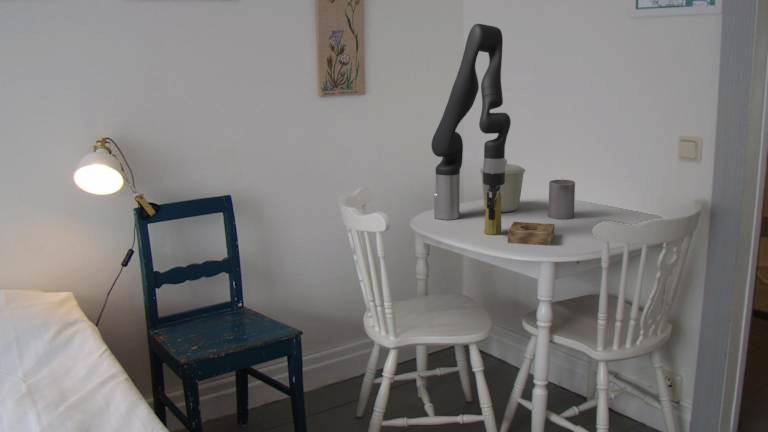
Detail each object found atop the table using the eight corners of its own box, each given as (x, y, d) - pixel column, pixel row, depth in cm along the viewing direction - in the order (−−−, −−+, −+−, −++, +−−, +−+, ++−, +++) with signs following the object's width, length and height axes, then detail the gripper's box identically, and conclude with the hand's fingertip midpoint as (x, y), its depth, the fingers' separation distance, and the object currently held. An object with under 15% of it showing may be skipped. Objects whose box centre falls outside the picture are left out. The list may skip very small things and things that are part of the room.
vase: (501, 235, 257) (502, 195, 254) (483, 234, 258) (484, 194, 255) (501, 231, 263) (502, 192, 260) (484, 230, 264) (485, 191, 261)
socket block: (507, 242, 247) (507, 231, 247) (513, 232, 260) (513, 221, 260) (550, 245, 243) (550, 233, 242) (553, 235, 256) (554, 224, 255)
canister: (533, 209, 297) (534, 157, 293) (505, 216, 285) (506, 162, 281) (497, 203, 310) (498, 153, 306) (469, 210, 298) (470, 158, 294)
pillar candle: (555, 212, 291) (556, 175, 287) (578, 215, 285) (579, 177, 281) (543, 217, 284) (544, 179, 280) (567, 220, 277) (568, 181, 274)
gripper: (486, 167, 264) (486, 212, 267) (479, 173, 250) (479, 221, 254) (507, 167, 261) (506, 213, 265) (501, 174, 248) (500, 222, 252)
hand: (493, 217), depth 259 cm, fingers open, 6 cm apart
